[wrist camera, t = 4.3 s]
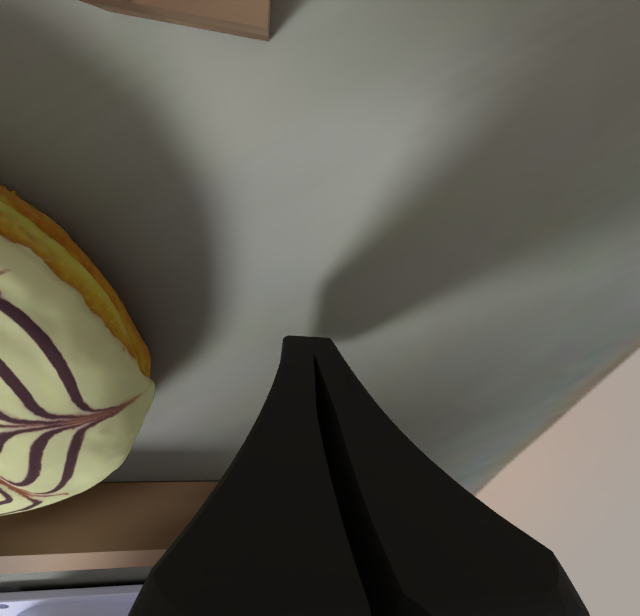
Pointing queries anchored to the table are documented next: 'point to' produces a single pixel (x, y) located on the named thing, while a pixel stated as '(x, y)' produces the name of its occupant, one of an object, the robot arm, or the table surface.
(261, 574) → the robot arm
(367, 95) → the table surface
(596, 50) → the table surface
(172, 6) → the lane
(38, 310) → the decorated donut
